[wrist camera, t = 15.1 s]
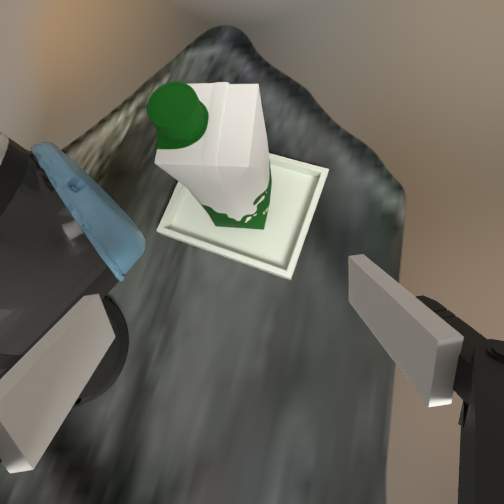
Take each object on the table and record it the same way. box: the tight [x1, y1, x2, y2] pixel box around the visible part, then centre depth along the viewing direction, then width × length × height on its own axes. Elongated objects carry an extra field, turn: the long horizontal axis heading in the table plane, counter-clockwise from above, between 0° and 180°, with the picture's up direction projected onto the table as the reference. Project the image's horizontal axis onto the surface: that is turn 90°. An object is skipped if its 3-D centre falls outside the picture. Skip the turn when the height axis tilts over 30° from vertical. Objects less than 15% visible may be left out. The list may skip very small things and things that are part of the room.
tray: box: [157, 153, 329, 280], centre depth 39 cm, size 20×16×2 cm
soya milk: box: [147, 82, 272, 230], centre depth 30 cm, size 9×9×20 cm
